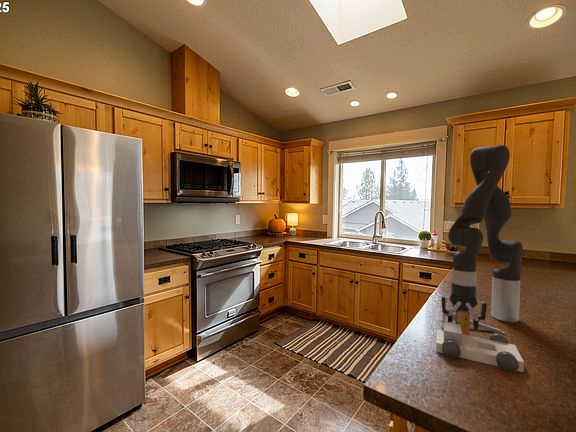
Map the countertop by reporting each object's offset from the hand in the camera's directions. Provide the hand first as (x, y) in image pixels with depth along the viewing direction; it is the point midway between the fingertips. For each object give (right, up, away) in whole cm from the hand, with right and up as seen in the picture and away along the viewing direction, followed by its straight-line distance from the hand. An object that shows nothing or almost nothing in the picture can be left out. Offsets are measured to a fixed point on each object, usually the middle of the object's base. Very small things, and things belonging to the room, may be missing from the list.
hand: (462, 327), depth 98 cm
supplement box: (0, -4, 0) cm, 4 cm away
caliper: (+9, -4, +8) cm, 13 cm away
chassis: (-2, -4, -10) cm, 11 cm away
